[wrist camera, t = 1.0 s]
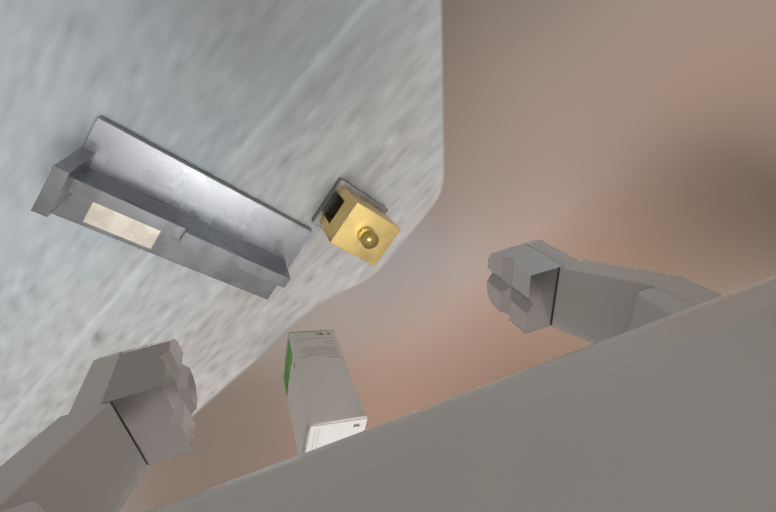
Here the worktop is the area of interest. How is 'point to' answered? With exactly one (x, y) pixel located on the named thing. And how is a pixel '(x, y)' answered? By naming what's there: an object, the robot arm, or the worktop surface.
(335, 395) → the skincare box
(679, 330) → the robot arm
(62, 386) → the worktop surface
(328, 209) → the thin grey square plate
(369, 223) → the gold knobbed block
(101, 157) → the rail
